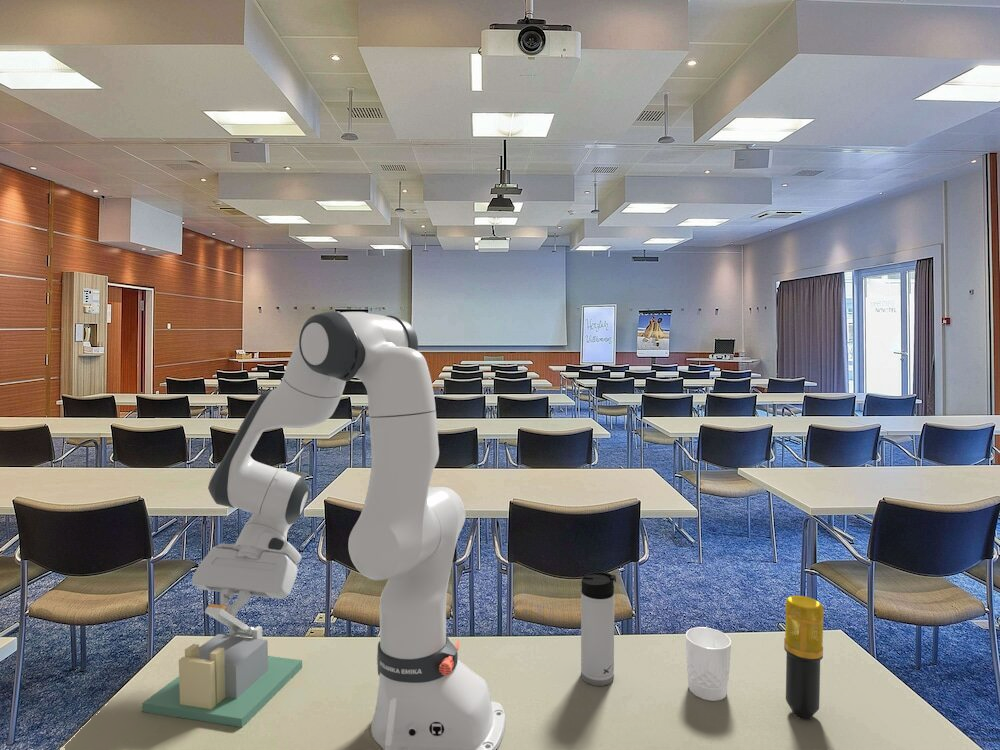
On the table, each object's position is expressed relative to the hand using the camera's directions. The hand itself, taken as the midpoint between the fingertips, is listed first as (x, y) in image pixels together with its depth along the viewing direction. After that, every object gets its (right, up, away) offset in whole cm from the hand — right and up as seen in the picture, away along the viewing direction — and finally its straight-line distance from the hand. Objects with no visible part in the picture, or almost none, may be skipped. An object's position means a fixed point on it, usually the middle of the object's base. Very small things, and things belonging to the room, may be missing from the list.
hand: (225, 615), depth 104 cm
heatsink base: (0, -14, 0) cm, 14 cm away
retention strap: (+1, -2, 0) cm, 2 cm away
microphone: (+108, -14, -8) cm, 109 cm away
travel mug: (+71, -13, +3) cm, 72 cm away
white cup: (+90, -13, -1) cm, 91 cm away
